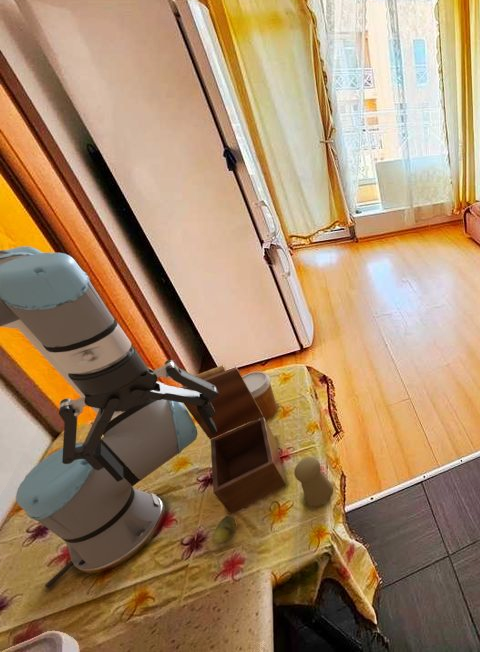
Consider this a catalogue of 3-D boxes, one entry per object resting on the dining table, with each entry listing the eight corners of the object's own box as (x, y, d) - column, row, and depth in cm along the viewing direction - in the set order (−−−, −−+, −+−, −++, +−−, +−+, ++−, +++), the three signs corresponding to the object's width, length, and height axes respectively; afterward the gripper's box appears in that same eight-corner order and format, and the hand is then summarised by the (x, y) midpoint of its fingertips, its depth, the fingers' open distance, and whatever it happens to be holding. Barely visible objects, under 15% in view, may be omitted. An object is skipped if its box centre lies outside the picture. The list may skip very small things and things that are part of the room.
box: (286, 485, 85) (273, 462, 81) (230, 514, 80) (213, 492, 76) (275, 438, 97) (263, 416, 92) (226, 461, 92) (210, 439, 87)
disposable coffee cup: (248, 406, 107) (231, 377, 100) (282, 395, 110) (268, 366, 104) (246, 430, 100) (228, 400, 93) (283, 417, 103) (268, 387, 96)
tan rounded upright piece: (323, 475, 87) (310, 447, 81) (338, 490, 83) (325, 462, 78) (300, 495, 83) (284, 467, 77) (314, 512, 80) (299, 483, 74)
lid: (236, 369, 82) (234, 353, 86) (175, 392, 77) (175, 374, 81) (263, 416, 91) (259, 400, 96) (209, 439, 86) (208, 422, 91)
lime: (216, 551, 74) (205, 540, 71) (217, 530, 78) (207, 517, 75) (240, 540, 76) (230, 527, 73) (240, 519, 79) (231, 506, 77)
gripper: (-37, 421, 43) (72, 515, 54) (204, 334, 56) (252, 424, 68) (-22, 386, 48) (75, 479, 59) (197, 314, 61) (242, 401, 73)
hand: (169, 450), depth 63 cm, fingers open, 13 cm apart
